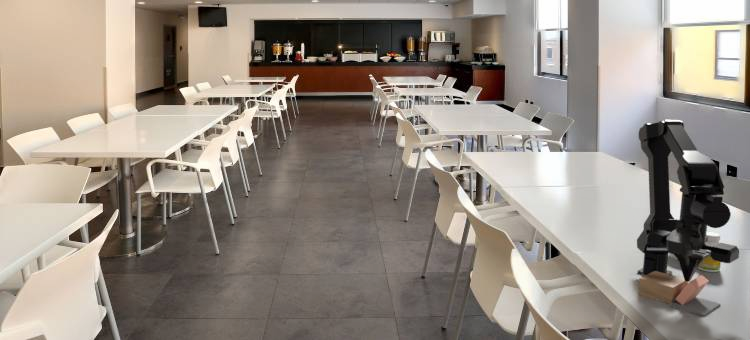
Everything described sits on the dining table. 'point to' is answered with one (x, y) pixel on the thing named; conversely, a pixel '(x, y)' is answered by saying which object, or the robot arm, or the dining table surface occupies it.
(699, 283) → the pink block
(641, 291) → the brown square block
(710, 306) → the mat
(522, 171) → the dining table surface
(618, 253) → the dining table surface
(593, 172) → the dining table surface
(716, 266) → the supplement bottle
